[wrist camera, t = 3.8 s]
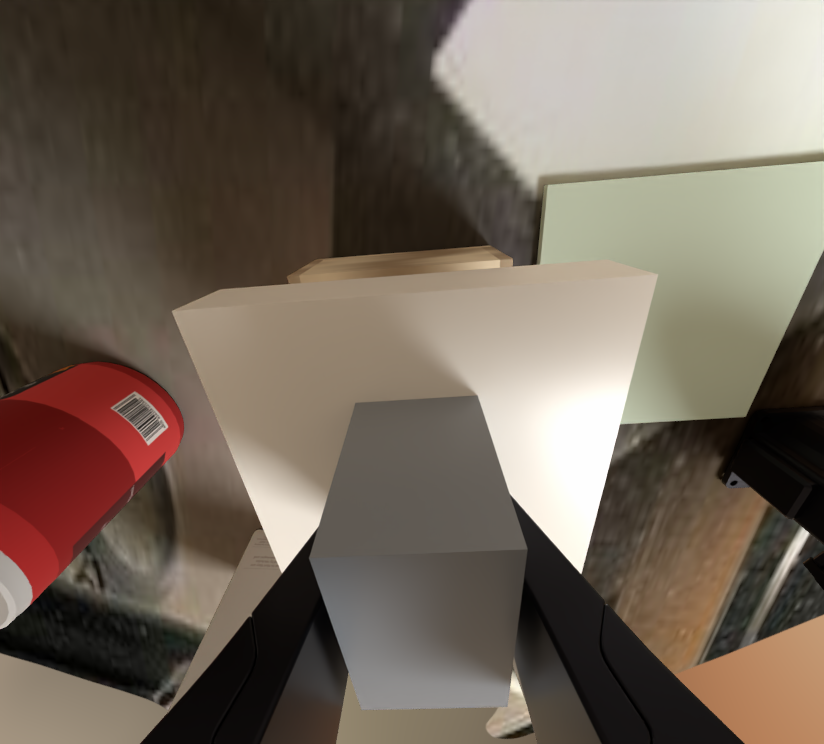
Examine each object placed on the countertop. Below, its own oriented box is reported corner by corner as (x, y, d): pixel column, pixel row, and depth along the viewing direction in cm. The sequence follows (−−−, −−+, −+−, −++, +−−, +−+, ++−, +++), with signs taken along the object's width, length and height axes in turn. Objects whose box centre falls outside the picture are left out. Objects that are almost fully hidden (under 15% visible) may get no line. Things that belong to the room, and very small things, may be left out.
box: (489, 245, 17) (512, 258, 13) (485, 395, 21) (501, 441, 17) (316, 259, 17) (286, 276, 13) (345, 404, 21) (329, 450, 17)
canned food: (60, 336, 19) (-303, 473, 10) (199, 390, 21) (12, 554, 11) (58, 430, 22) (-217, 606, 13) (179, 470, 24) (19, 654, 14)
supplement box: (253, 526, 27) (138, 759, 16) (344, 533, 27) (296, 767, 16) (262, 580, 30) (172, 804, 19) (343, 586, 31) (302, 809, 19)
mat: (853, 158, 15) (866, 157, 15) (738, 412, 21) (745, 416, 21) (544, 185, 16) (547, 184, 15) (521, 425, 22) (523, 429, 22)
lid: (606, 259, 8) (936, 357, 3) (557, 527, 13) (656, 750, 8) (220, 289, 9) (-73, 419, 4) (305, 538, 14) (233, 757, 8)
